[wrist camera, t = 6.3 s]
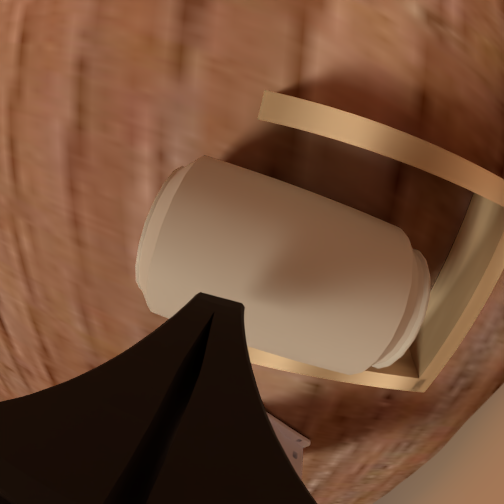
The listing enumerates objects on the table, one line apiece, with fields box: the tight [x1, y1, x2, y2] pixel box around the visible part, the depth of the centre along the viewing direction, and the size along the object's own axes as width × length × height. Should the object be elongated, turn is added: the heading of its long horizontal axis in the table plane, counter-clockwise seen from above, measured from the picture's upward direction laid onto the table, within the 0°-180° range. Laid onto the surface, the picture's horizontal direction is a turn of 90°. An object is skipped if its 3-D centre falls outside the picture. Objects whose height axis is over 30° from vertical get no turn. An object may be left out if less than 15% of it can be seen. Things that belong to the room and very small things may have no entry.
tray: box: [247, 90, 504, 392], centre depth 16 cm, size 14×13×4 cm
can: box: [135, 155, 430, 375], centre depth 15 cm, size 8×8×12 cm
